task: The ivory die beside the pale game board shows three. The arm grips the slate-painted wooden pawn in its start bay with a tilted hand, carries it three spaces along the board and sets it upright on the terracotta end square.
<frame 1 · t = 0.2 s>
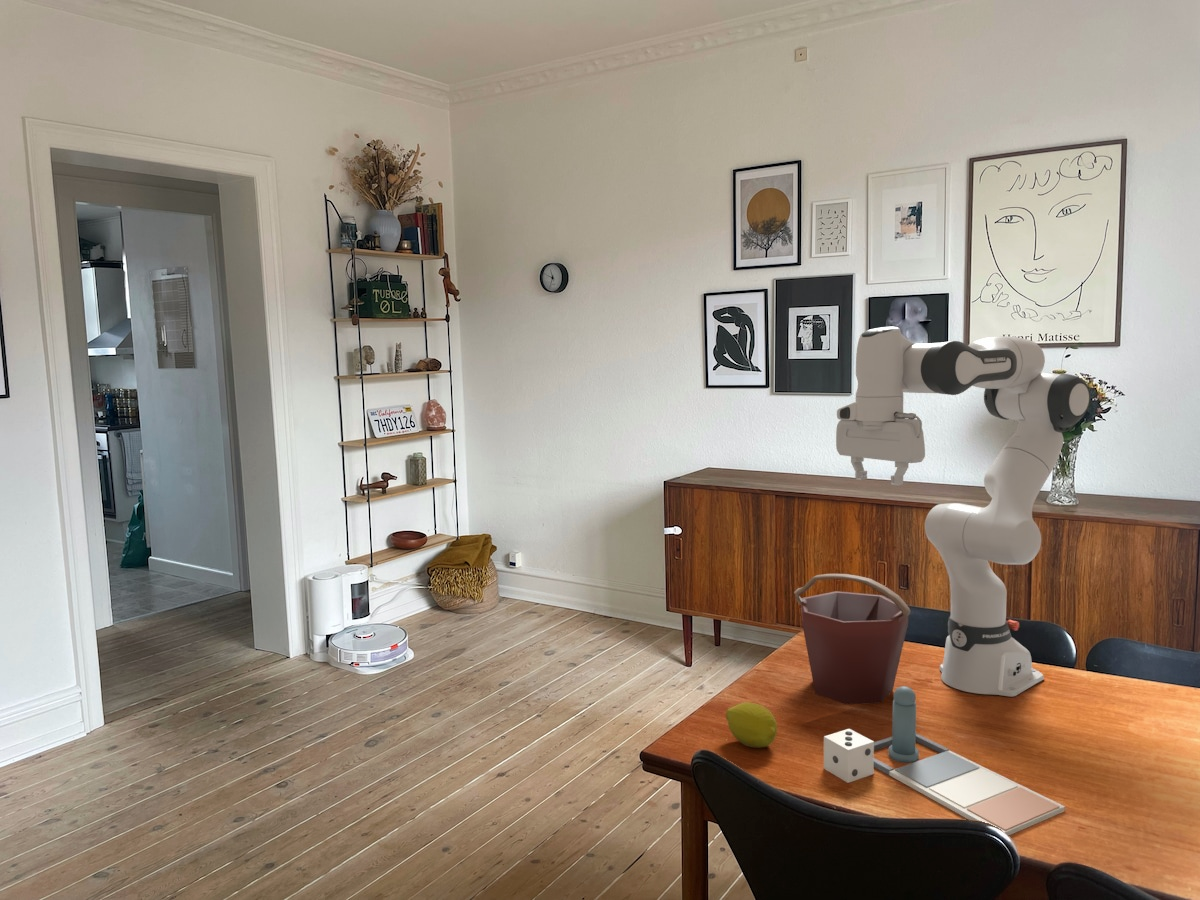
hand: (878, 482, 170), 48 cm above the table, tool pointing down, fingers open, 8 cm apart
die: (848, 771, 154), on the table
game board: (954, 782, 149), on the table
pawn: (903, 756, 159), resting in game board
bucket: (851, 688, 190), on the table
lemon: (752, 745, 165), on the table
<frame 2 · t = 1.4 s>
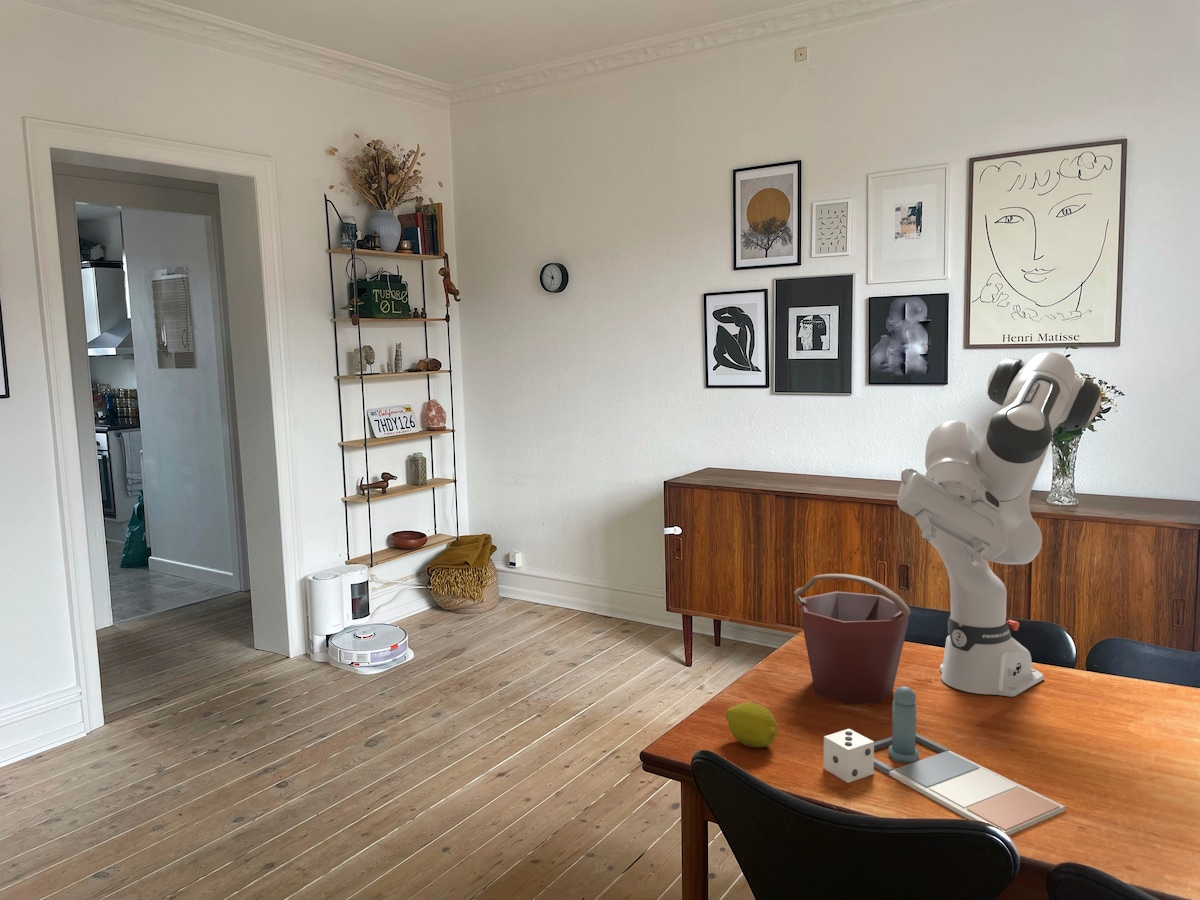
hand: (952, 550, 144), 41 cm above the table, tool tilted 55°, fingers open, 8 cm apart
nothing on the table moved.
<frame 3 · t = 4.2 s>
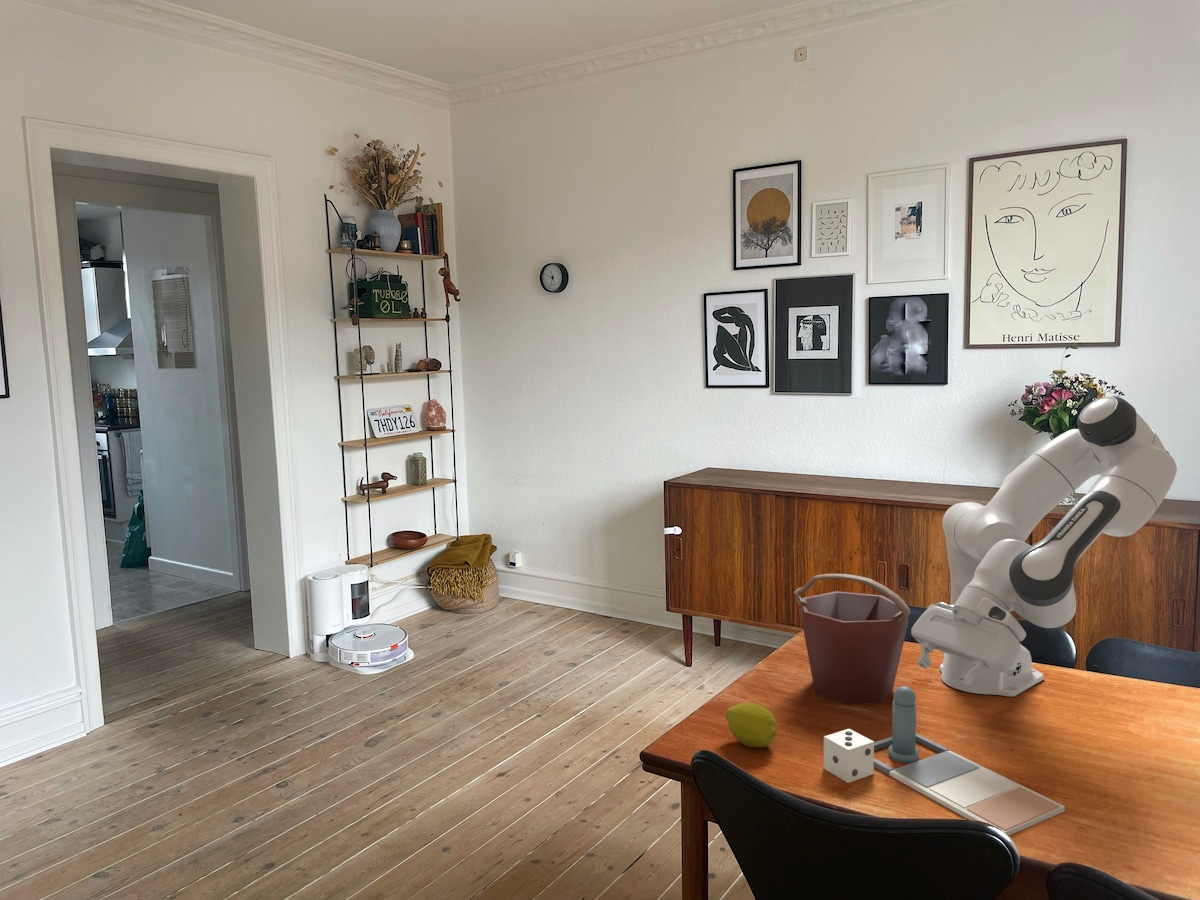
hand: (942, 673, 161), 14 cm above the table, tool tilted 45°, fingers open, 8 cm apart
nothing on the table moved.
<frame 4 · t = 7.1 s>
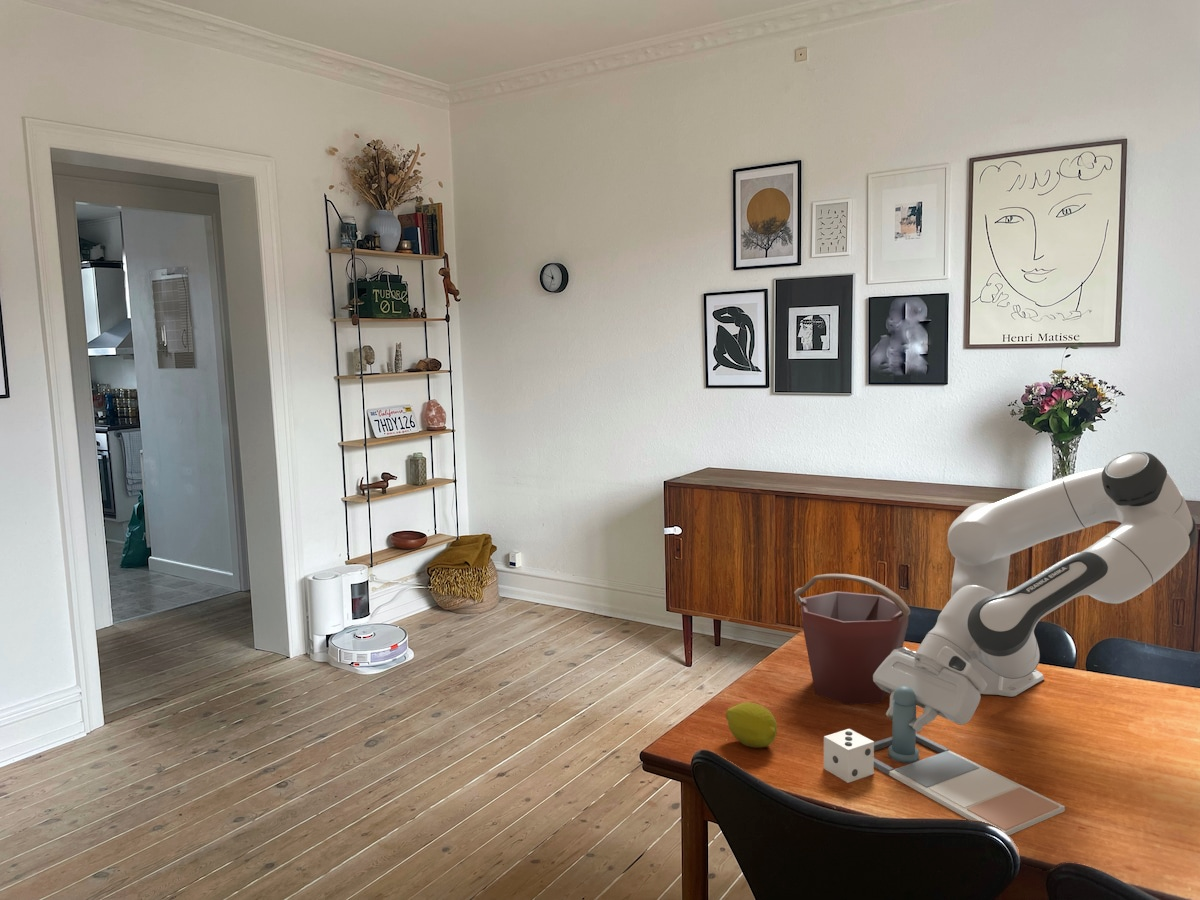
hand: (901, 723, 158), 6 cm above the table, tool tilted 45°, fingers closed on pawn, 4 cm apart
pawn: (903, 756, 159), resting in game board, touching gripper
everything else where it was.
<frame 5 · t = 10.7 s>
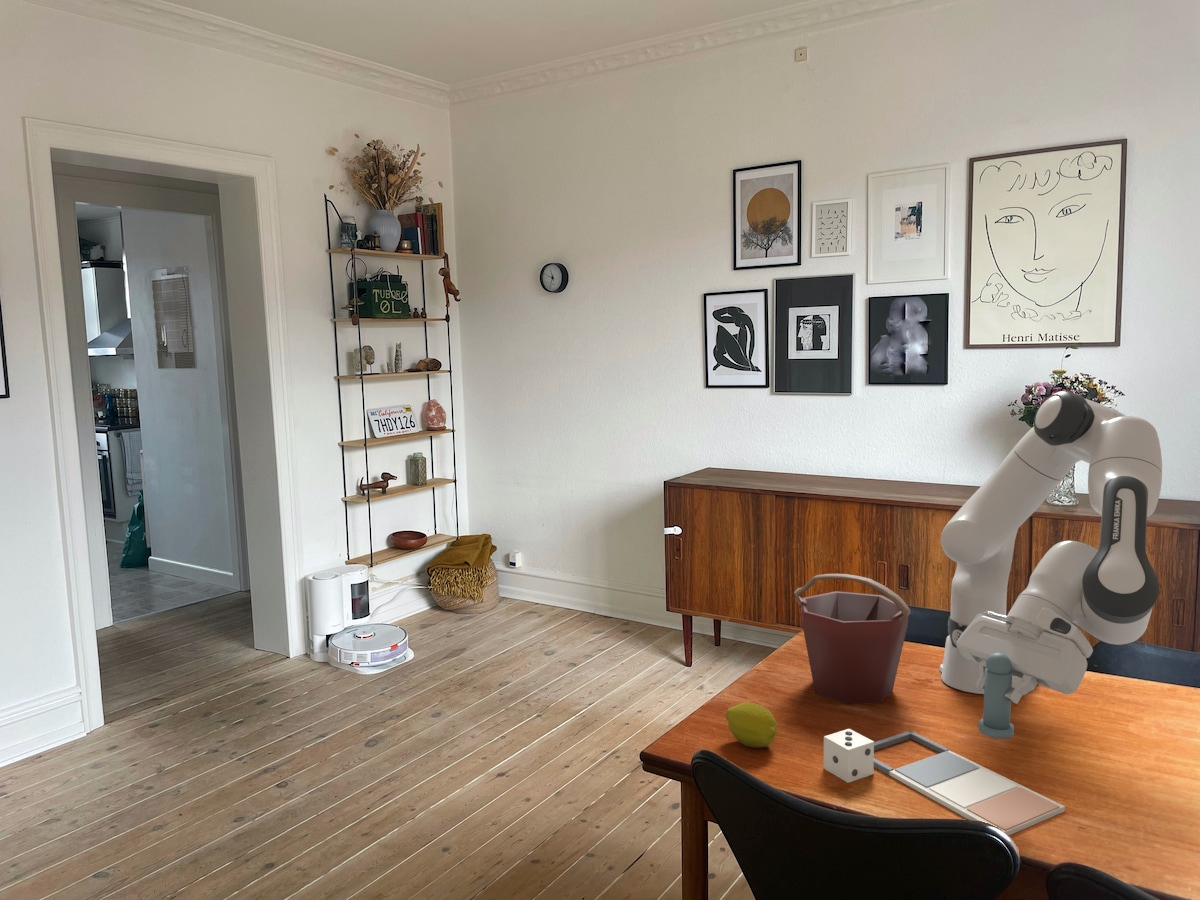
hand: (995, 694, 140), 18 cm above the table, tool tilted 45°, fingers closed on pawn, 4 cm apart
pawn: (996, 731, 141), point 12 cm above the table, touching gripper
everything else where it was.
when the fingers open (9 cm above the table, at t = 14.3 s): pawn drops 1 cm, resting on game board.
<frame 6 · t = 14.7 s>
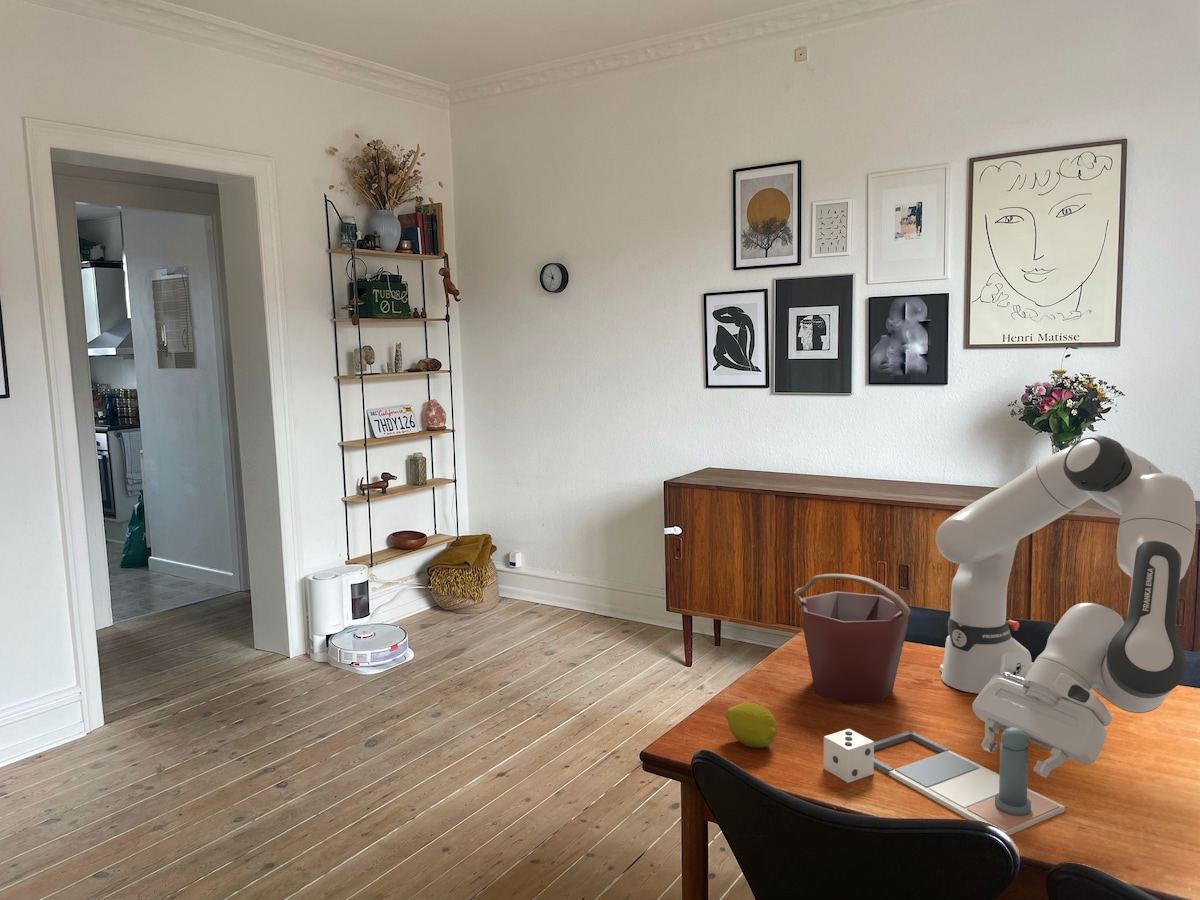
hand: (1012, 761, 138), 9 cm above the table, tool tilted 45°, fingers open, 8 cm apart
pawn: (1012, 807, 139), point 1 cm above the table, touching game board
everything else where it was.
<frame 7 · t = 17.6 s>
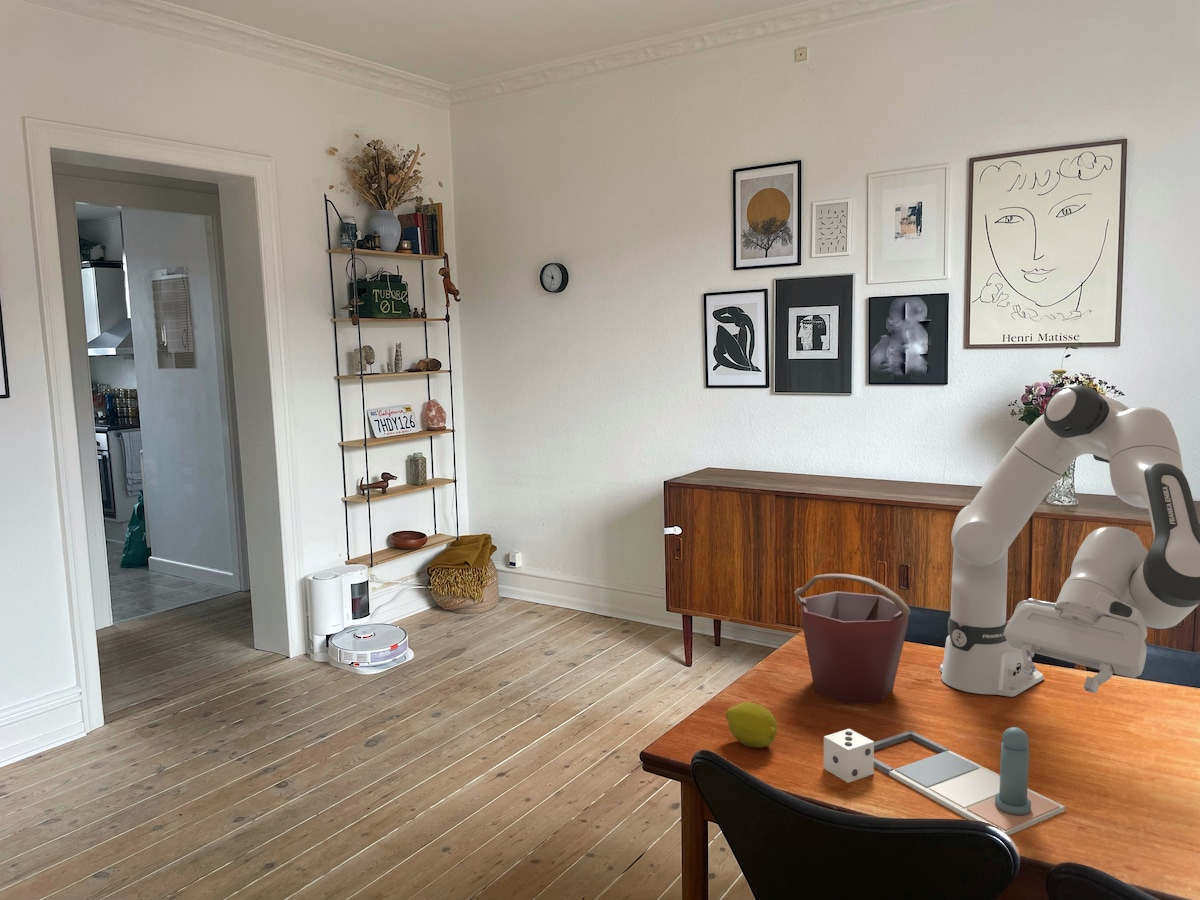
hand: (1057, 681, 137), 21 cm above the table, tool tilted 50°, fingers open, 8 cm apart
nothing on the table moved.
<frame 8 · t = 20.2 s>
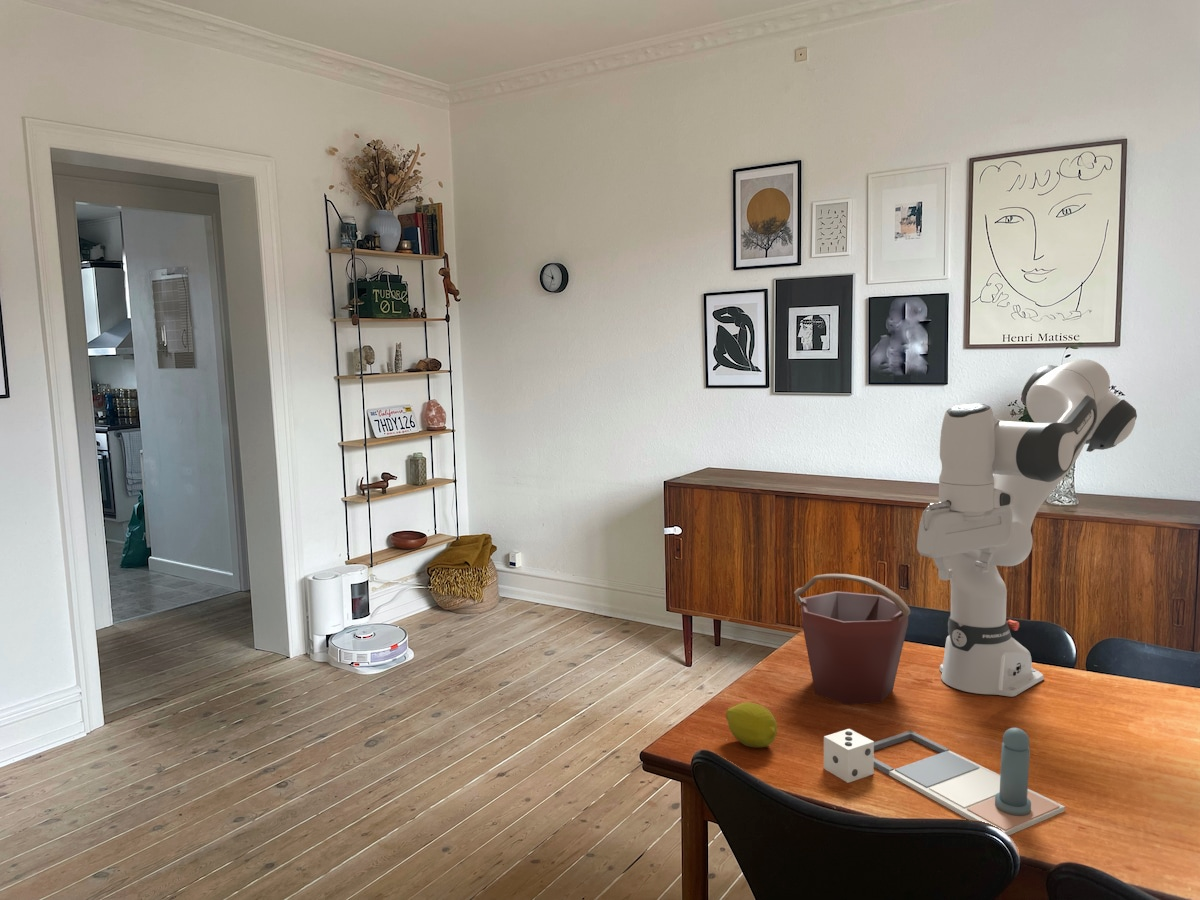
hand: (964, 575, 153), 34 cm above the table, tool pointing down, fingers open, 8 cm apart
nothing on the table moved.
at the end: pawn inside the target area (0.1 cm from its centre), point 1.0 cm above the table; pawn tilted 1°; the gripper is holding nothing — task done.
